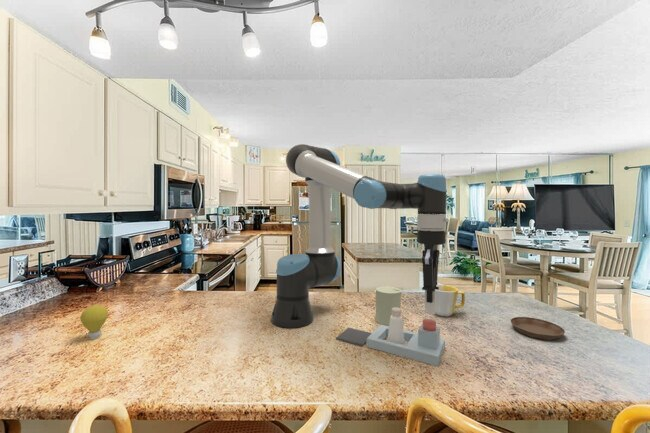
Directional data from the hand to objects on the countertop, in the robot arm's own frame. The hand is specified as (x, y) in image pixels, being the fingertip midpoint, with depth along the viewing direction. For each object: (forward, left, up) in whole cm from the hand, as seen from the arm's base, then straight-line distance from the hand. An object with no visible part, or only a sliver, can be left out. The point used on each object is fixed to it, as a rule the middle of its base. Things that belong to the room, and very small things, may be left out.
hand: (430, 312), depth 82 cm
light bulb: (-91, -45, -12) cm, 102 cm away
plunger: (0, 0, -5) cm, 5 cm away
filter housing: (-7, 0, -12) cm, 13 cm away
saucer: (+28, +34, -12) cm, 46 cm away
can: (-18, +17, -12) cm, 27 cm away
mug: (0, +36, -12) cm, 38 cm away
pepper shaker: (-10, 0, -12) cm, 15 cm away
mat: (-22, -2, -12) cm, 25 cm away
